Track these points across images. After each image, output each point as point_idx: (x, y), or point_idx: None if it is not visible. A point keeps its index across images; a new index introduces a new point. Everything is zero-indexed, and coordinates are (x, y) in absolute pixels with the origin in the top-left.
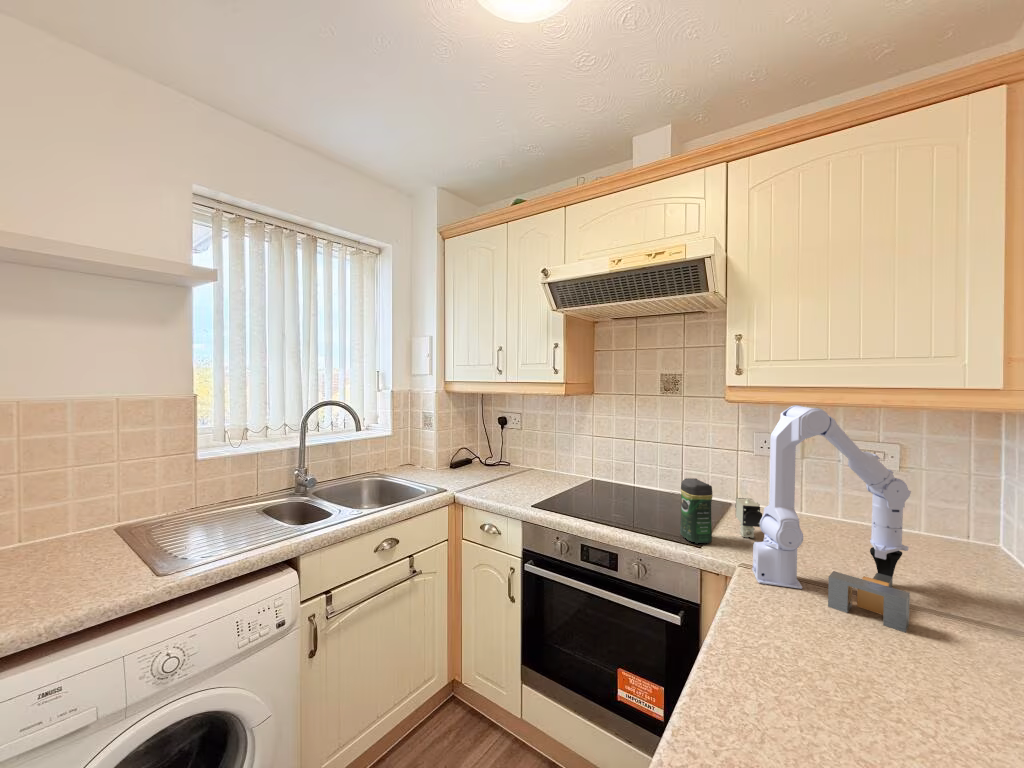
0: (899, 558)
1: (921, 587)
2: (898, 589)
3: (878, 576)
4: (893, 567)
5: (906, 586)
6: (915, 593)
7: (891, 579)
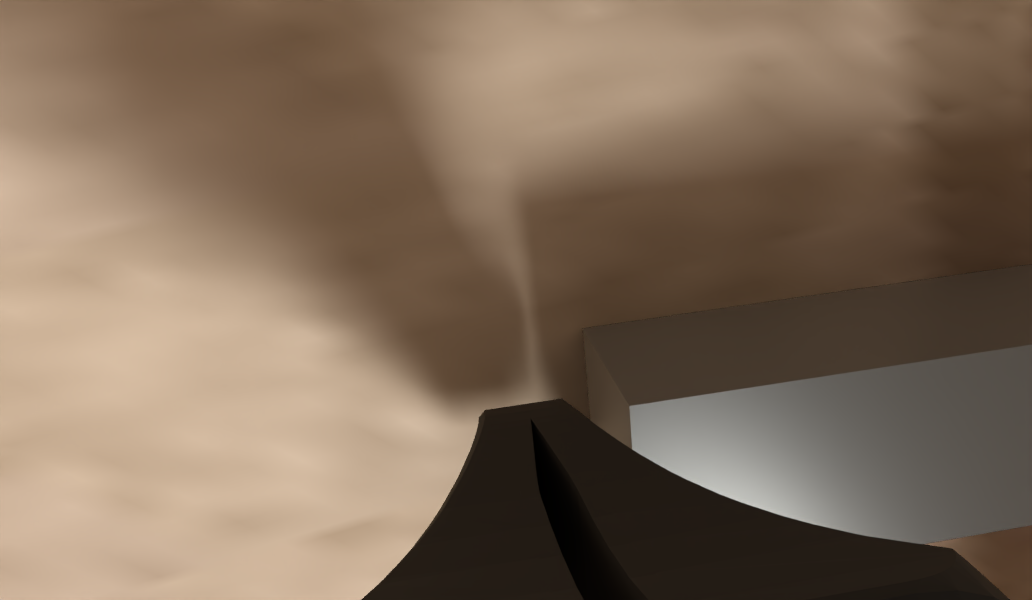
0: (954, 576)
1: (113, 99)
2: None
3: None
4: (719, 497)
5: (295, 247)
6: (462, 98)
7: (732, 385)
